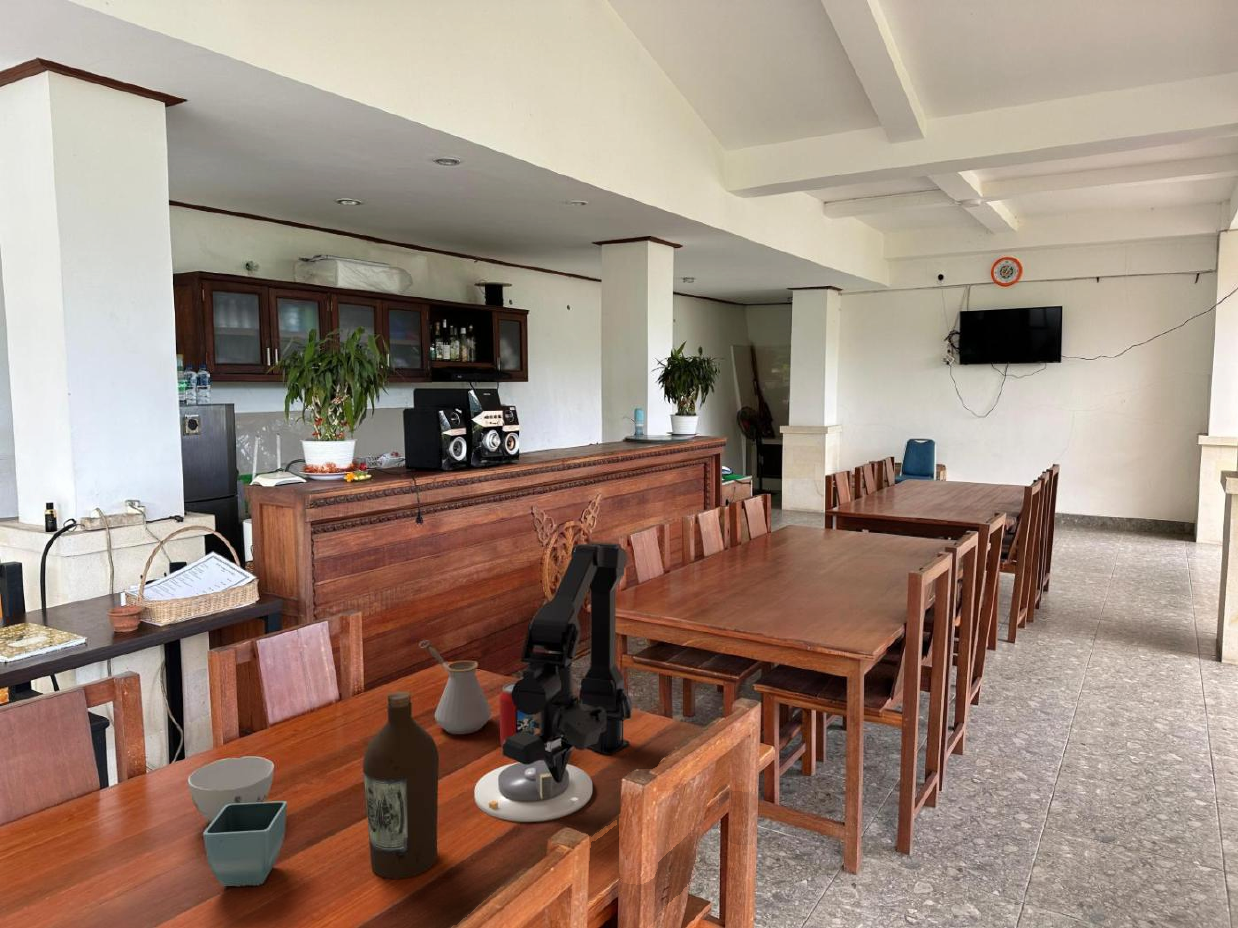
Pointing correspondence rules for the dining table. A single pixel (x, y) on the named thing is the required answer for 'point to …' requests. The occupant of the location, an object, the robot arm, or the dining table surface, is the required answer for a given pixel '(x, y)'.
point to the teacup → (230, 783)
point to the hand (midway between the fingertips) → (558, 782)
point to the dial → (530, 782)
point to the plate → (538, 810)
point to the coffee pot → (461, 697)
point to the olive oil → (401, 794)
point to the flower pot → (245, 841)
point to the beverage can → (513, 716)
